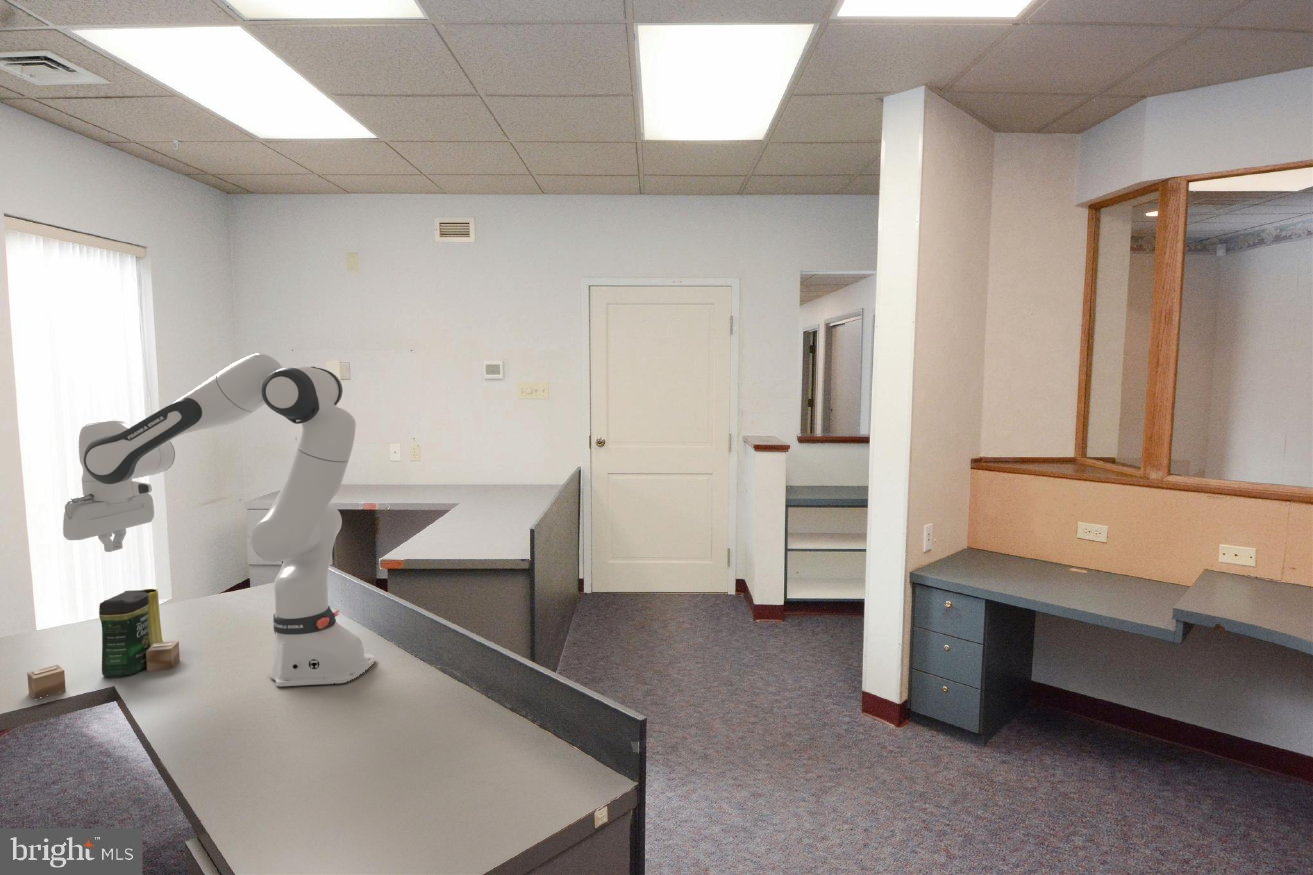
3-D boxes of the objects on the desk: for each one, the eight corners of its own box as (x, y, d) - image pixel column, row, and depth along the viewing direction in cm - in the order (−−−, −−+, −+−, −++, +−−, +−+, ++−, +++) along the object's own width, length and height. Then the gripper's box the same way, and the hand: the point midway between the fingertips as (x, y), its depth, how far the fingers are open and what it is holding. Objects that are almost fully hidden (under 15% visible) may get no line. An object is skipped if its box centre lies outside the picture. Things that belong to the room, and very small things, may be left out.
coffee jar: (133, 678, 151) (128, 599, 149) (95, 680, 150) (90, 601, 148) (159, 660, 161) (154, 586, 159) (123, 662, 159) (118, 587, 158)
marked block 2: (179, 660, 161) (178, 639, 160) (172, 668, 156) (171, 647, 156) (155, 663, 159) (154, 642, 159) (147, 671, 155) (145, 650, 154)
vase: (169, 641, 173) (165, 588, 171) (148, 650, 166) (145, 595, 165) (147, 640, 173) (144, 587, 172) (127, 649, 167) (123, 594, 166)
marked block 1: (65, 691, 144) (64, 669, 144) (35, 700, 140) (33, 677, 140) (59, 685, 147) (57, 663, 147) (28, 694, 143) (27, 671, 143)
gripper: (78, 498, 139) (85, 562, 140) (157, 484, 160) (162, 539, 161) (50, 499, 140) (57, 562, 141) (132, 484, 160) (137, 540, 161)
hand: (113, 550), depth 151 cm, fingers closed
